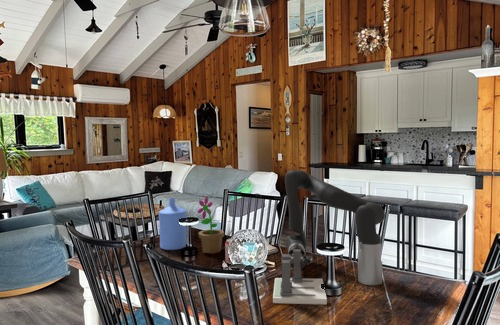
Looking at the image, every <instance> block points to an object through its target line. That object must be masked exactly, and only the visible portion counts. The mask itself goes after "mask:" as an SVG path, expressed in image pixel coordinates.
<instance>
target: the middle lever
mask: <svg viewBox="0 0 500 325" xmlns="http://www.w3.org/2000/svg"><path fill="white" fill-rule="evenodd" d="M282 260H290V254H288V253H287V254H285V253H284V254H283V253H282V255H281V261H282ZM281 288H282V282H281ZM290 288H292V282H290Z"/></svg>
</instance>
